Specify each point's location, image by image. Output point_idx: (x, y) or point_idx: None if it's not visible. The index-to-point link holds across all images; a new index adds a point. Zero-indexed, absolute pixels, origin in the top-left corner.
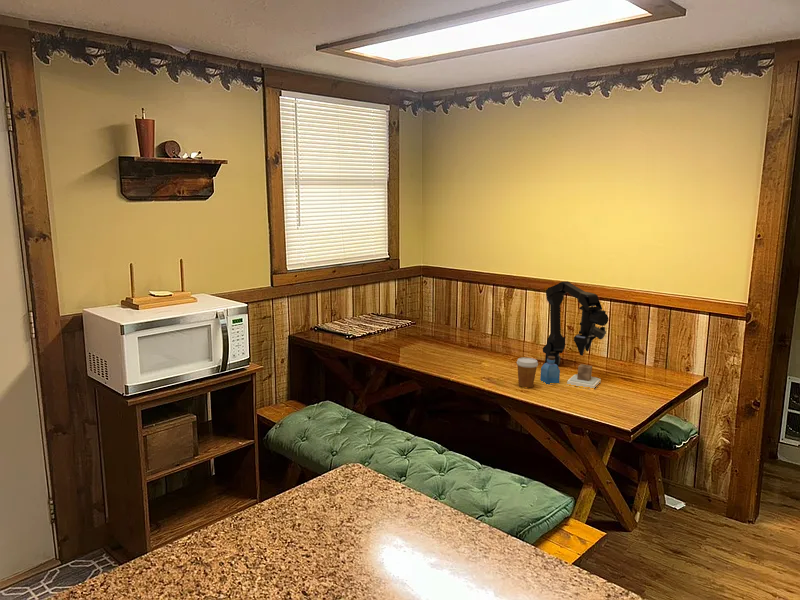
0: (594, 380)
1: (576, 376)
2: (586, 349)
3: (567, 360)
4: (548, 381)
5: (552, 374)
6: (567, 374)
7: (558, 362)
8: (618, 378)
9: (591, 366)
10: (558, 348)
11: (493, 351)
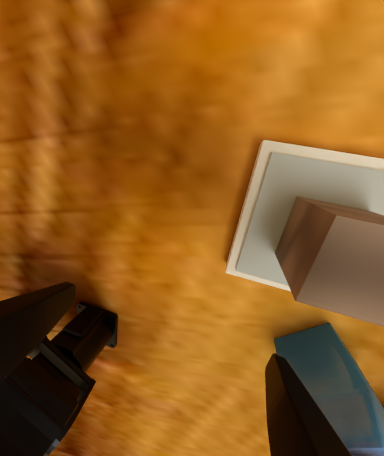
0: (339, 174)
1: (280, 270)
2: (63, 309)
3: (28, 277)
4: (362, 373)
5: (376, 398)
6: (181, 284)
7: (95, 319)
8: (132, 51)
9: (366, 221)
10: (53, 386)
11: (75, 425)
